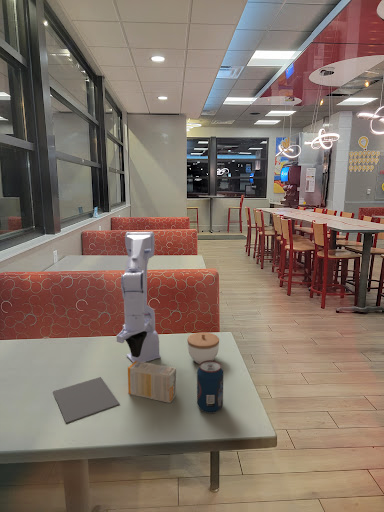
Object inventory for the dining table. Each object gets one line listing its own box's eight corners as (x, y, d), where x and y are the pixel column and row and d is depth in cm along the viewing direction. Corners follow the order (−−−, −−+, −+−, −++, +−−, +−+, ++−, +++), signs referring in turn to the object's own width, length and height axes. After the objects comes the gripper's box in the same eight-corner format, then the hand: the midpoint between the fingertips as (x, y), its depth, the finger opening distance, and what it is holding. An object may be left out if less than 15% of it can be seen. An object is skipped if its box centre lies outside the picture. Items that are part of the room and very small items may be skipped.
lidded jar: (185, 366, 112) (184, 340, 111) (190, 351, 123) (190, 327, 121) (217, 369, 111) (217, 342, 109) (220, 353, 121) (220, 328, 119)
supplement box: (136, 385, 102) (176, 394, 97) (127, 394, 97) (170, 404, 93) (135, 359, 100) (177, 367, 96) (127, 367, 96) (170, 376, 92)
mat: (100, 377, 106) (100, 376, 106) (119, 404, 93) (119, 403, 93) (52, 392, 98) (52, 391, 98) (66, 423, 85) (66, 422, 85)
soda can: (197, 398, 95) (197, 358, 93) (222, 399, 95) (222, 359, 93) (196, 414, 88) (196, 372, 86) (223, 415, 88) (224, 372, 86)
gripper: (137, 303, 108) (139, 343, 110) (107, 318, 95) (109, 363, 98) (156, 306, 105) (157, 347, 107) (127, 322, 92) (129, 369, 94)
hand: (136, 355), depth 102 cm, fingers closed
